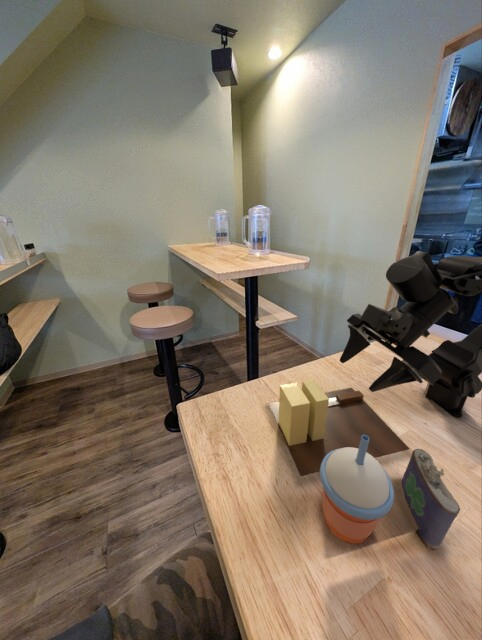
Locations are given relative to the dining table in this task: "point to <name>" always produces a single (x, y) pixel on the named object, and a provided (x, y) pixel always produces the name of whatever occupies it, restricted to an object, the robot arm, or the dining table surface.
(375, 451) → the board
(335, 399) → the knife
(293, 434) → the butter block
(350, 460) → the cup with straw
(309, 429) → the block
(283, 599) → the dining table surface
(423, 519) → the flask
